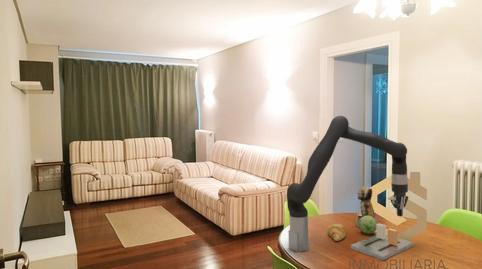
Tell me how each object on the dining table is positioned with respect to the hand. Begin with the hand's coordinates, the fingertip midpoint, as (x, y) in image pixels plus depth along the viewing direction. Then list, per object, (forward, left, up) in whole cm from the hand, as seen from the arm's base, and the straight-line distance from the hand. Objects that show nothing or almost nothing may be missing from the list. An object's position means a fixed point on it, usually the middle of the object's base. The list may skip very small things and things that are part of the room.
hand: (399, 215), depth 173 cm
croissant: (-14, +29, -15) cm, 36 cm away
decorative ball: (+2, +20, -15) cm, 25 cm away
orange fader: (-7, 0, -13) cm, 14 cm away
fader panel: (-10, +4, -15) cm, 18 cm away
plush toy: (+11, +28, -15) cm, 33 cm away
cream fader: (-4, +8, -13) cm, 15 cm away
